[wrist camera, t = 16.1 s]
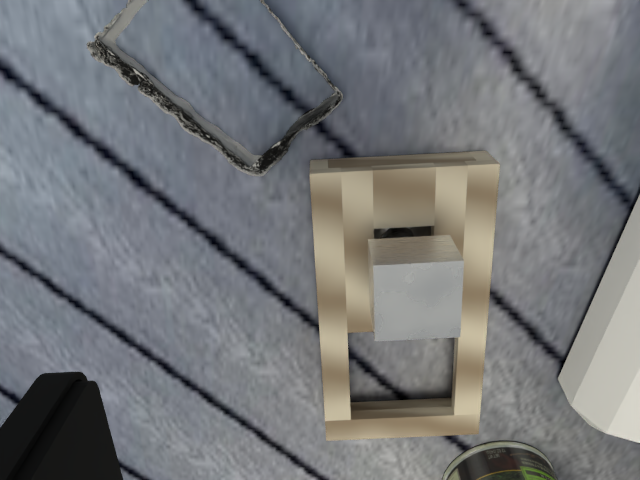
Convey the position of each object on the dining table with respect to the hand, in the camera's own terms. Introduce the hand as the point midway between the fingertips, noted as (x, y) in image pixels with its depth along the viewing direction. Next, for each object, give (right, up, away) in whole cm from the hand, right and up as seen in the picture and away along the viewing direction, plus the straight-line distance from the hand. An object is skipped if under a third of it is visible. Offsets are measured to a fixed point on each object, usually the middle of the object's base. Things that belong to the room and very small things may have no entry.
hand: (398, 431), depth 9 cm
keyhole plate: (+5, -1, +34) cm, 34 cm away
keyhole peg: (+4, +3, +32) cm, 32 cm away
